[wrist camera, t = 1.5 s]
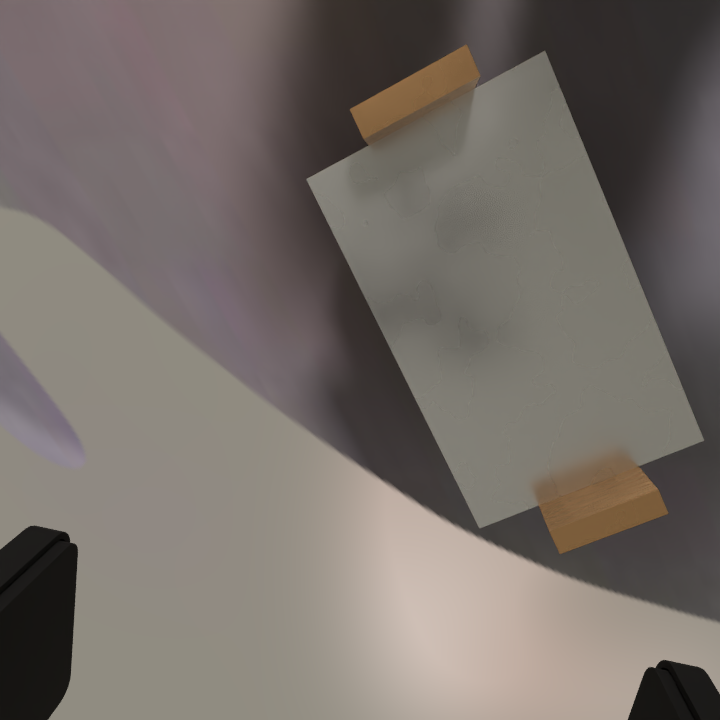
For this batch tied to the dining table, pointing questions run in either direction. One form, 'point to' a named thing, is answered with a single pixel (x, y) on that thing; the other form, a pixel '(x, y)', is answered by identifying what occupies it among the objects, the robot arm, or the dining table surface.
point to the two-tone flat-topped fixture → (509, 297)
